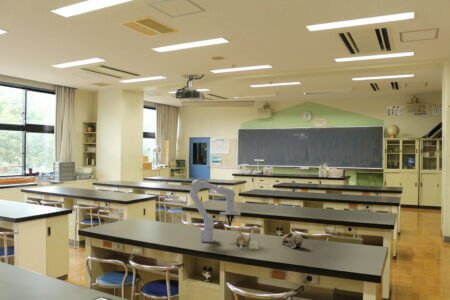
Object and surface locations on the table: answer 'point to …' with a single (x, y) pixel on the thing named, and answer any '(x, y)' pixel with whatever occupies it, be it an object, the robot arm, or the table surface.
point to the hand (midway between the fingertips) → (230, 225)
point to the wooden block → (242, 239)
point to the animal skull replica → (292, 240)
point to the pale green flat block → (250, 245)
